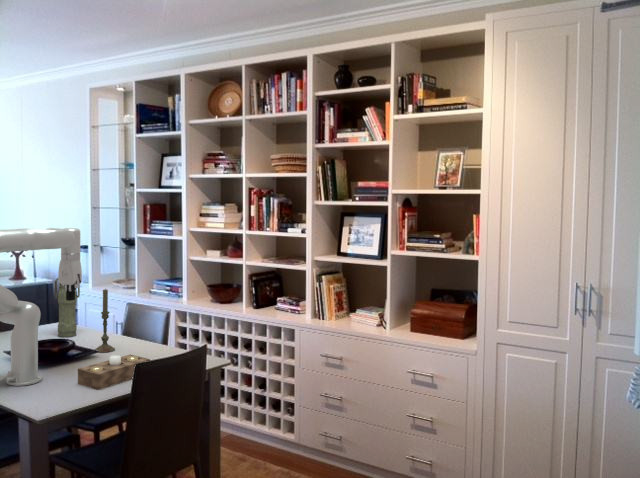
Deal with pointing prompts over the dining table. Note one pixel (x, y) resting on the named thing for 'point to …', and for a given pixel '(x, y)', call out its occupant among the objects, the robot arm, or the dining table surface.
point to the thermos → (66, 312)
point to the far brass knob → (132, 358)
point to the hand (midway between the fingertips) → (70, 300)
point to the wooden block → (108, 373)
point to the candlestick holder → (105, 326)
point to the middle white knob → (115, 360)
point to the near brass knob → (96, 368)
